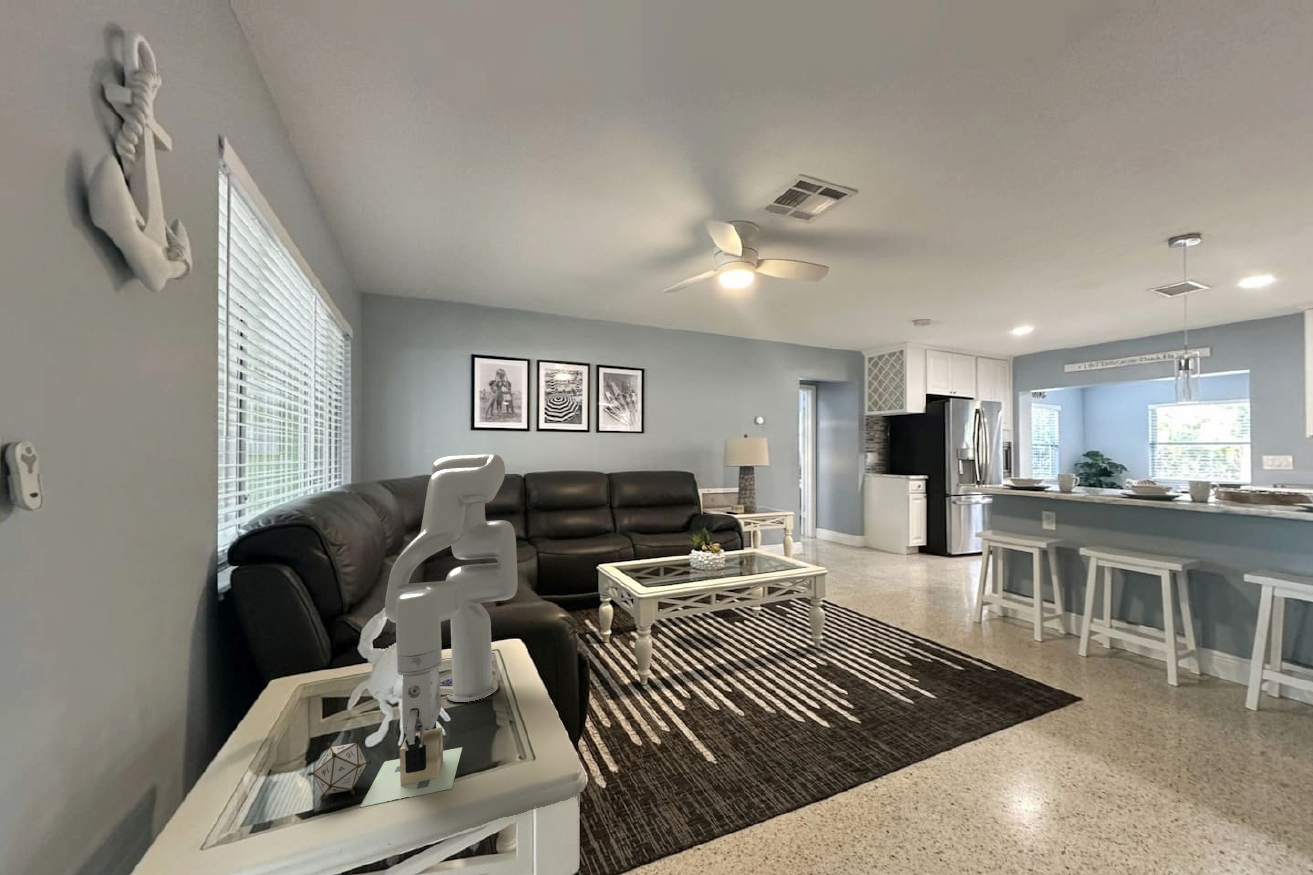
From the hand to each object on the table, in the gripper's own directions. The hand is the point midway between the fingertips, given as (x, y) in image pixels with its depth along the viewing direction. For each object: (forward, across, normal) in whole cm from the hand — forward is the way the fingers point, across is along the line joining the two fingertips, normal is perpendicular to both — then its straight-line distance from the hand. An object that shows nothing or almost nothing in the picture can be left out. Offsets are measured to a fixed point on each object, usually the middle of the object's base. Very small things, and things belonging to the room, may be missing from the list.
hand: (422, 756), depth 91 cm
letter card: (+3, 0, +1) cm, 3 cm away
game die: (+3, -1, +13) cm, 13 cm away
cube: (+3, 0, 0) cm, 3 cm away
